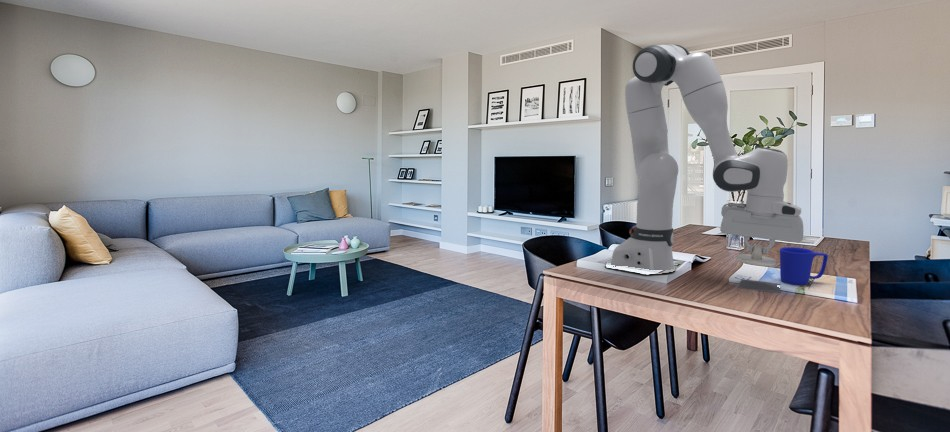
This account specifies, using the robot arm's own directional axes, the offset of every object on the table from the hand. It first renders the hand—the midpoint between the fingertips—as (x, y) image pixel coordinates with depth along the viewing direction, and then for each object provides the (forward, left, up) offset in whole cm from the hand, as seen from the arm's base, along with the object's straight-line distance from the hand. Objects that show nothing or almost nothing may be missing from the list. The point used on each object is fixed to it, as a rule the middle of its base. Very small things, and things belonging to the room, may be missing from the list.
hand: (757, 253), depth 133 cm
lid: (0, 0, -3) cm, 3 cm away
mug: (+11, +10, -10) cm, 18 cm away
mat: (+1, 0, -10) cm, 10 cm away
